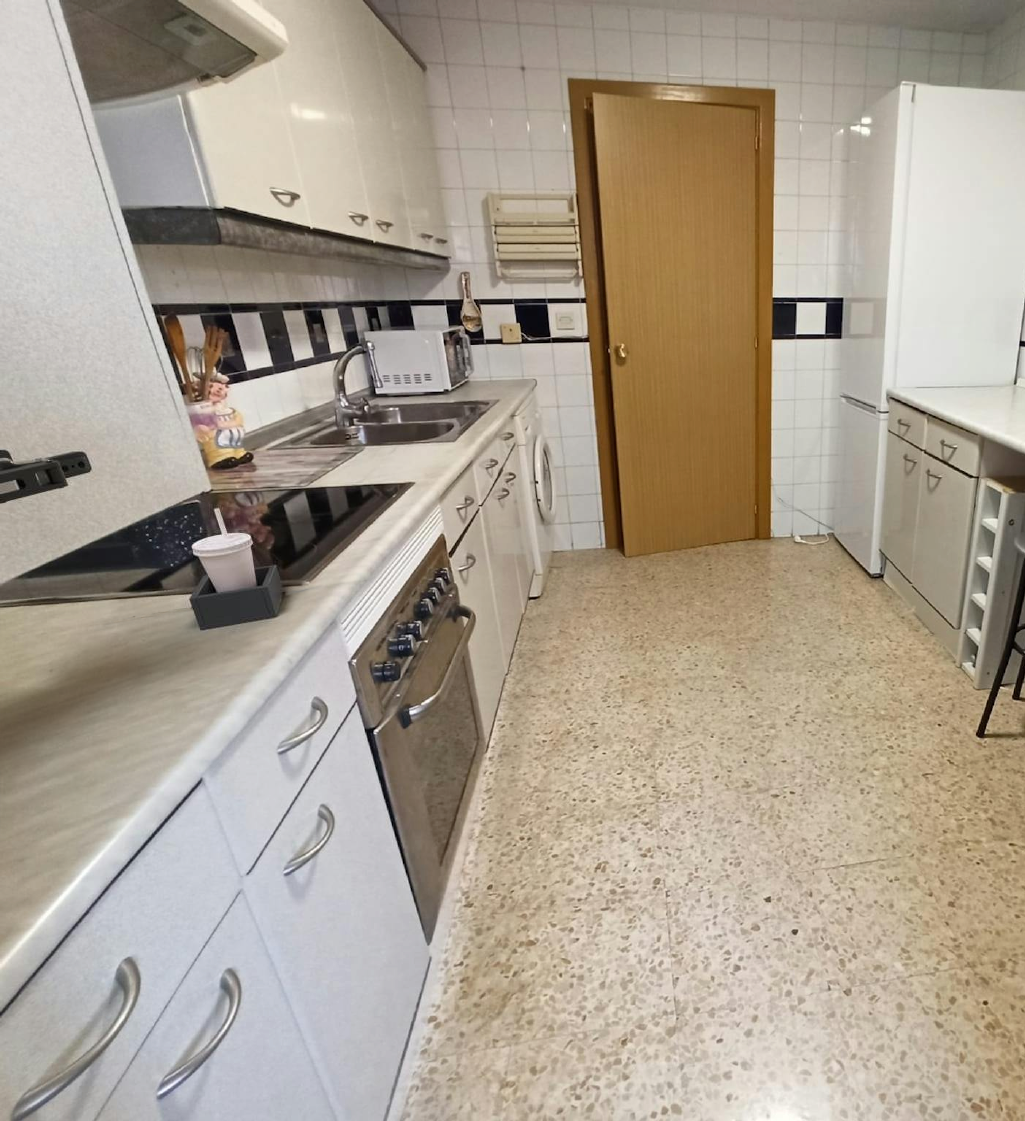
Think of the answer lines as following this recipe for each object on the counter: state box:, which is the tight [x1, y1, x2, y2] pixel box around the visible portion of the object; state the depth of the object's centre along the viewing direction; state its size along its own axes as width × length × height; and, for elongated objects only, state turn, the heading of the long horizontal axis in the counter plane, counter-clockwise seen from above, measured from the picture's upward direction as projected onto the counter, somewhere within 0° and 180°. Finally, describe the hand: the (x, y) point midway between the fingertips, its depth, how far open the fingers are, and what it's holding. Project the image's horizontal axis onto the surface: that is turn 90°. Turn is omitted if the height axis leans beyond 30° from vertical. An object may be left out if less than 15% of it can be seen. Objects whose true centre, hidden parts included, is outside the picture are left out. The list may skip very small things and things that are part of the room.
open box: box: [188, 564, 285, 631], centre depth 89 cm, size 8×8×5 cm
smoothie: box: [191, 507, 257, 593], centre depth 87 cm, size 6×6×14 cm
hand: (47, 460), depth 67 cm, fingers open, 8 cm apart
